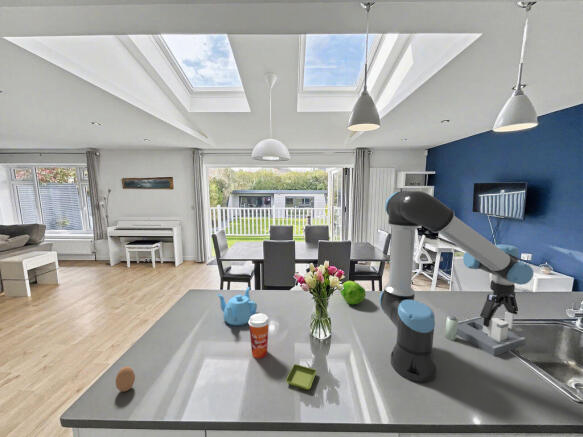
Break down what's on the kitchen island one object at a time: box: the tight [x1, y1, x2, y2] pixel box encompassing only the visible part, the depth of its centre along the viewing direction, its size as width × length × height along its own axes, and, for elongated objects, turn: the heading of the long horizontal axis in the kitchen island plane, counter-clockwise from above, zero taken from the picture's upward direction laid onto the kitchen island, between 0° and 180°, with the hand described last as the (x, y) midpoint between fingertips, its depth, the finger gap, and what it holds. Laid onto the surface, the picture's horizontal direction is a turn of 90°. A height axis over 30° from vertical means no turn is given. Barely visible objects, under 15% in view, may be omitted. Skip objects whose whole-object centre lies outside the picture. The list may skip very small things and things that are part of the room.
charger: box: [488, 317, 509, 342], centre depth 102 cm, size 5×4×10 cm
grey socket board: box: [456, 315, 527, 357], centre depth 106 cm, size 20×18×3 cm
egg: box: [115, 366, 136, 393], centre depth 78 cm, size 5×5×8 cm
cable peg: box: [444, 315, 459, 341], centre depth 105 cm, size 4×4×10 cm
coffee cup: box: [247, 313, 271, 359], centre depth 95 cm, size 8×8×15 cm
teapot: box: [216, 286, 259, 327], centre depth 122 cm, size 17×19×12 cm
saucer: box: [285, 363, 318, 391], centre depth 83 cm, size 9×9×2 cm
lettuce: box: [340, 280, 366, 306], centre depth 142 cm, size 14×20×12 cm
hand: (497, 330), depth 102 cm, fingers open, 13 cm apart
